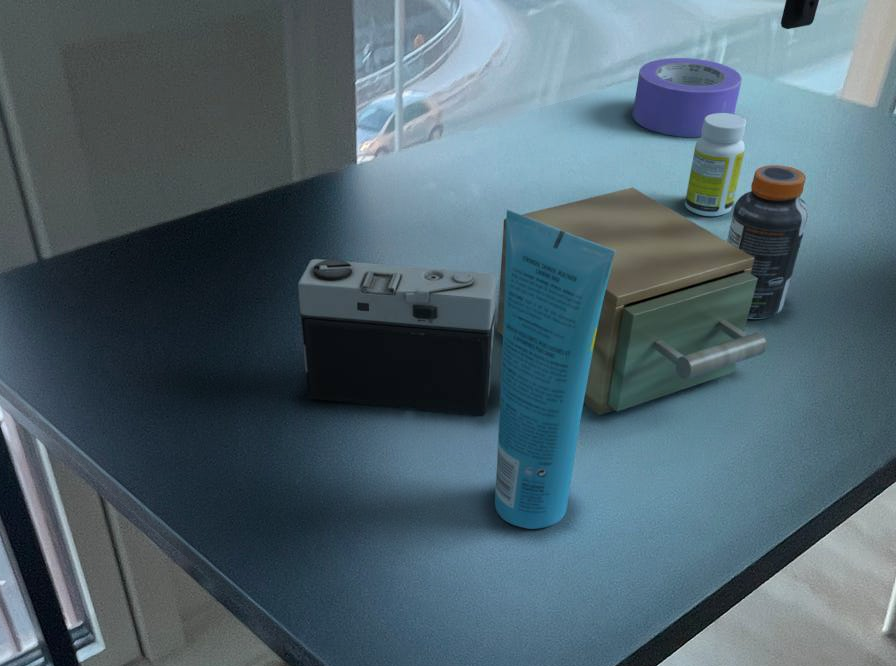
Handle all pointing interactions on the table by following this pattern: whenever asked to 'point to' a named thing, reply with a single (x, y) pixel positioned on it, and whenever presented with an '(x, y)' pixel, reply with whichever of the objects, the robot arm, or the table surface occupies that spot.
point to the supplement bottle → (716, 165)
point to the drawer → (683, 339)
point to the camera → (398, 335)
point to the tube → (544, 365)
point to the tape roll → (683, 94)
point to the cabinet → (634, 264)
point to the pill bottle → (770, 233)
